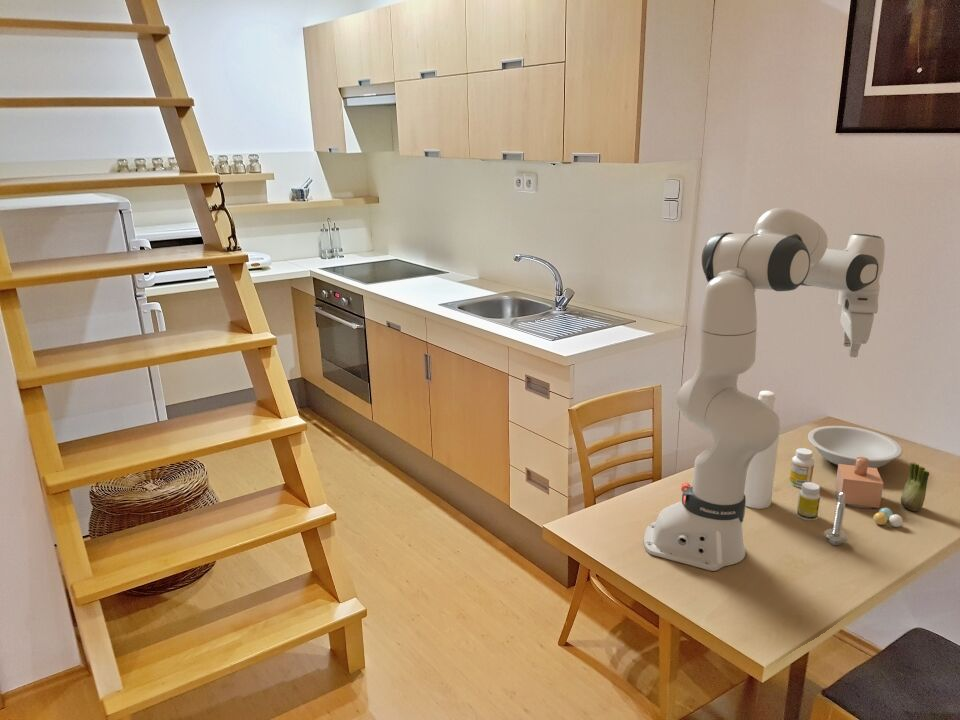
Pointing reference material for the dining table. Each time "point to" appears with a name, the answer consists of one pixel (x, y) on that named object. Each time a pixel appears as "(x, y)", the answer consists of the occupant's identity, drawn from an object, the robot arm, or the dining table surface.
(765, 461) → the bottle
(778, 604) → the dining table surface
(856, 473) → the terracotta cover
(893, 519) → the marble ivory
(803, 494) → the supplement bottle
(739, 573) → the dining table surface
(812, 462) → the supplement bottle
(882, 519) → the marble amber
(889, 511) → the marble teal
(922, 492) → the fennel bulb
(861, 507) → the gray glossy dome
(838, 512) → the screw
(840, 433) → the soup bowl
